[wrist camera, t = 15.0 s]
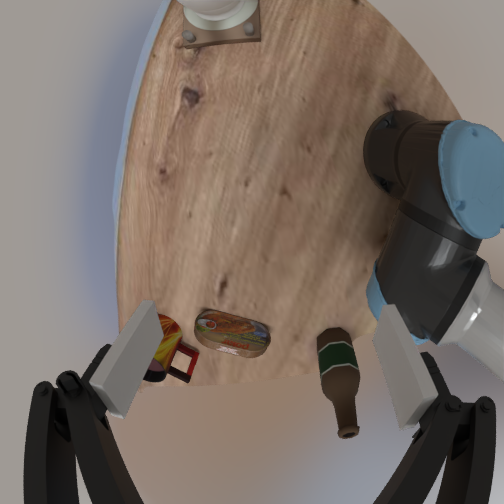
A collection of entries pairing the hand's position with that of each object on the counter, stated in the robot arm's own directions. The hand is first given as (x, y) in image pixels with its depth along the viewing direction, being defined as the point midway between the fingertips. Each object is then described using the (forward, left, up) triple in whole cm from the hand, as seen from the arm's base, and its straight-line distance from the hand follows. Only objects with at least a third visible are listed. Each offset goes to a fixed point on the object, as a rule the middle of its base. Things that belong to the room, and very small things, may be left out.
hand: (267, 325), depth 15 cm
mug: (+23, +30, -32) cm, 50 cm away
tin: (+8, +26, -32) cm, 42 cm away
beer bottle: (-13, +31, -32) cm, 46 cm away
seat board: (+8, -33, -32) cm, 46 cm away
